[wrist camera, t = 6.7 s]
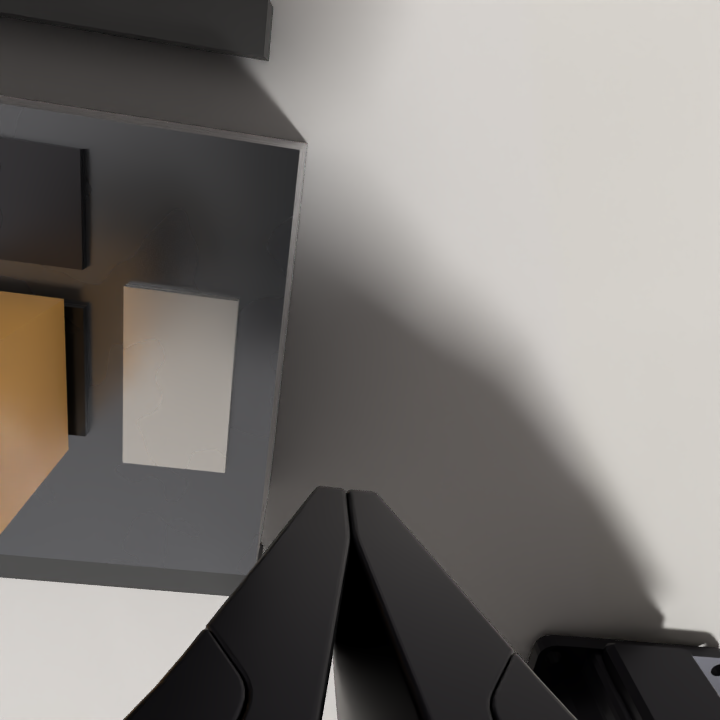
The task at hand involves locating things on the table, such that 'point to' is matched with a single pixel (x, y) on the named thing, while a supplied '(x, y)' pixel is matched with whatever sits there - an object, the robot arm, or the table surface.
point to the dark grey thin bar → (162, 21)
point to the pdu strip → (153, 328)
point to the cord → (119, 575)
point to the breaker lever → (30, 396)
